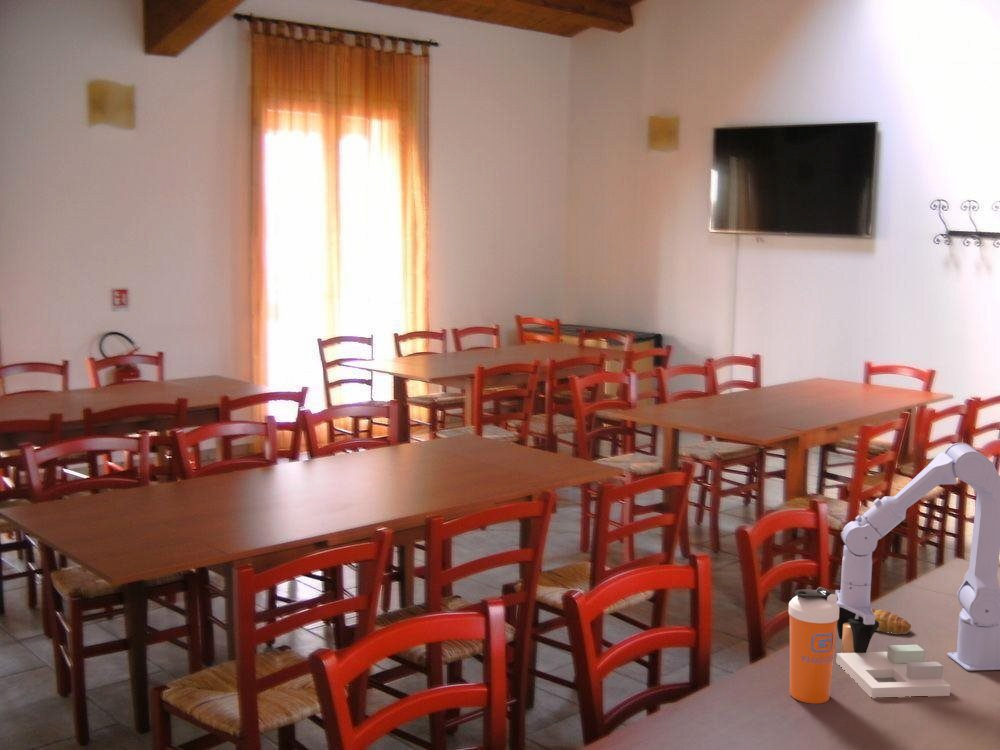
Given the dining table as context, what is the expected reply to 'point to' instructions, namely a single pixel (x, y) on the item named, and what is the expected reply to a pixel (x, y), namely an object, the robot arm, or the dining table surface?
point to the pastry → (891, 622)
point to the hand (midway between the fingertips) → (852, 645)
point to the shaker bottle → (812, 644)
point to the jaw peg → (847, 639)
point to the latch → (905, 653)
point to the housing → (893, 675)
